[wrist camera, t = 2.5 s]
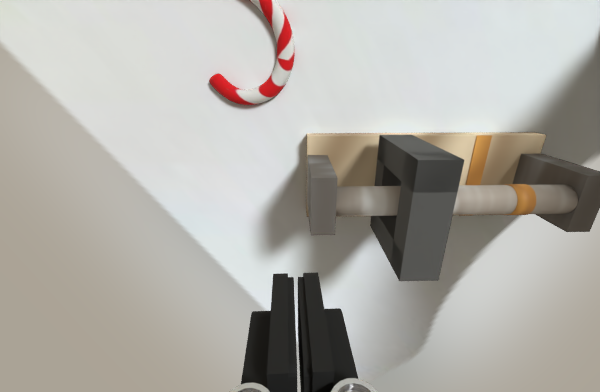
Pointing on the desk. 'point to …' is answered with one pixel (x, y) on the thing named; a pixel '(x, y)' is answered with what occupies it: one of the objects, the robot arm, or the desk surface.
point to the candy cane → (282, 67)
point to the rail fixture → (473, 184)
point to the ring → (416, 204)
